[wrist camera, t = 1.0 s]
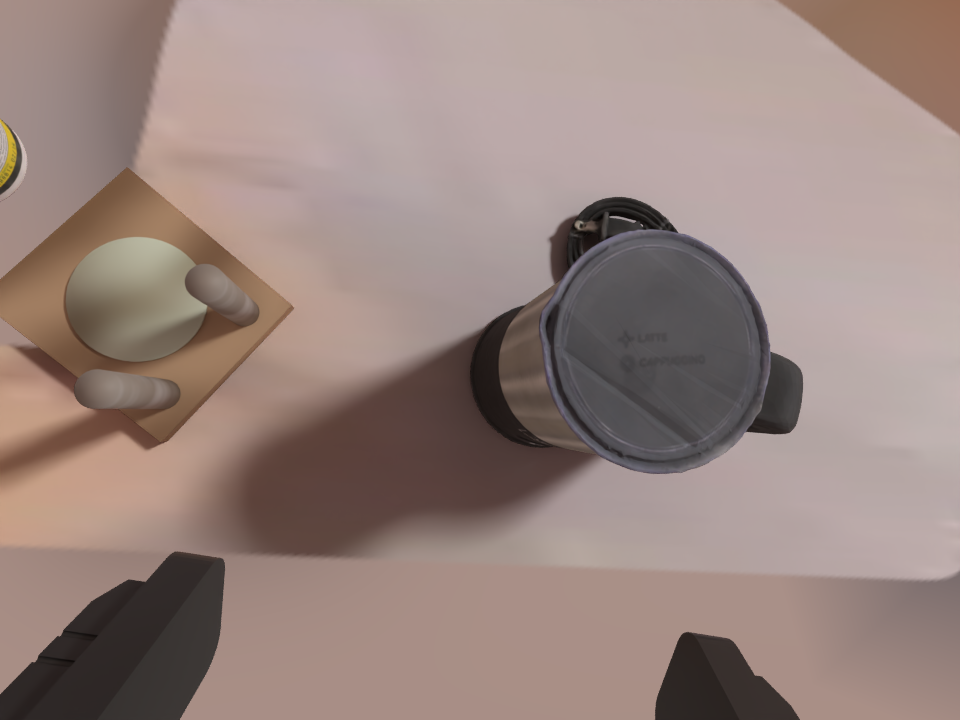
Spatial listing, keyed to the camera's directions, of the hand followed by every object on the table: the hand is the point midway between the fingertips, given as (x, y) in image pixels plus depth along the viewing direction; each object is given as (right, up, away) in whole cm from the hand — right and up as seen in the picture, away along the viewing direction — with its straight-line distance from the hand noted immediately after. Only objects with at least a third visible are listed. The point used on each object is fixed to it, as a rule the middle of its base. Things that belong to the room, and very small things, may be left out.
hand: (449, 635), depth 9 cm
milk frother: (+6, +7, +25) cm, 27 cm away
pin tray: (-18, +8, +20) cm, 28 cm away
